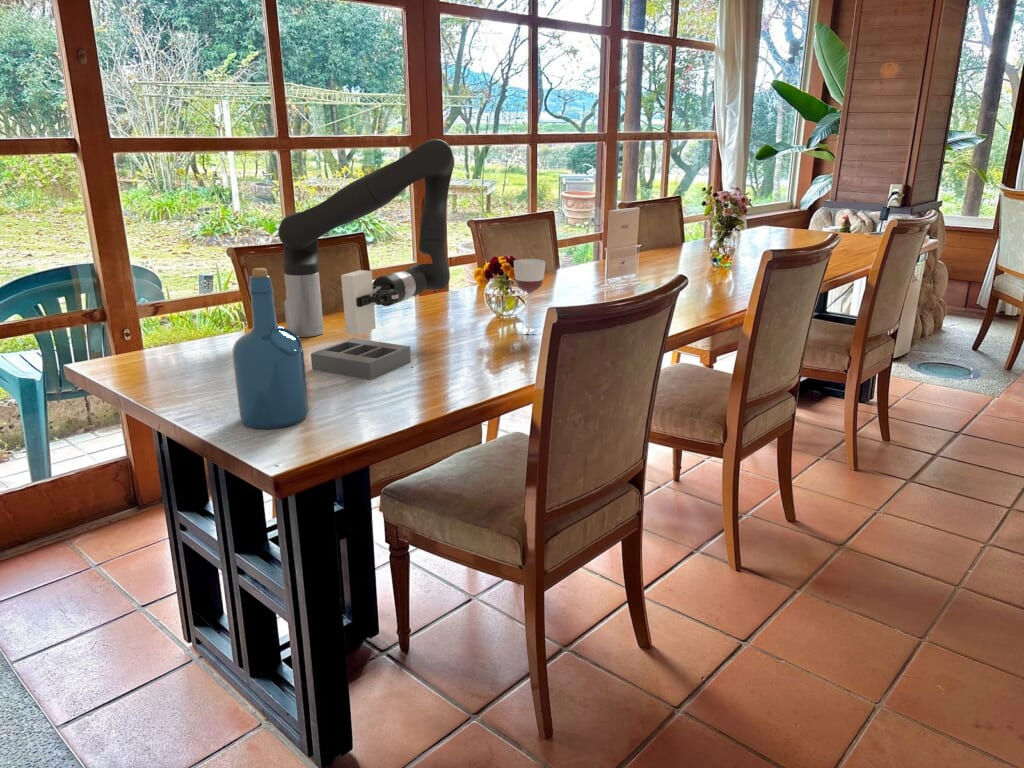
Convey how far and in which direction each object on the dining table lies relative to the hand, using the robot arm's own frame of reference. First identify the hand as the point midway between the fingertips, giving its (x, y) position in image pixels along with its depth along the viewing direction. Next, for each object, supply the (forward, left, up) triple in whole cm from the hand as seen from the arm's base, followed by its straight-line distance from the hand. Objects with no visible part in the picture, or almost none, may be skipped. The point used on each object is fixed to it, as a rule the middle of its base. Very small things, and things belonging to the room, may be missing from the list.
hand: (351, 301), depth 181 cm
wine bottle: (+7, -34, -17) cm, 39 cm away
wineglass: (+21, +51, -17) cm, 57 cm away
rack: (0, +3, -16) cm, 17 cm away
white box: (0, +3, -8) cm, 8 cm away
